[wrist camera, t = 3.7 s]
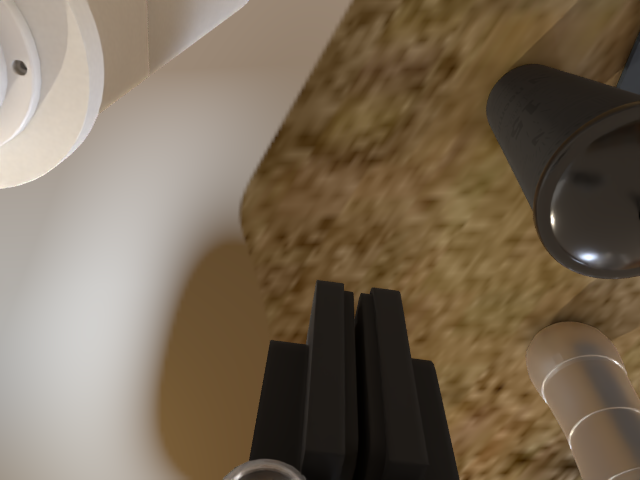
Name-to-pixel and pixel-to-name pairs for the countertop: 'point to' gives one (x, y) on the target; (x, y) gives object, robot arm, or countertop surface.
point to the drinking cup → (574, 165)
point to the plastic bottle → (588, 398)
